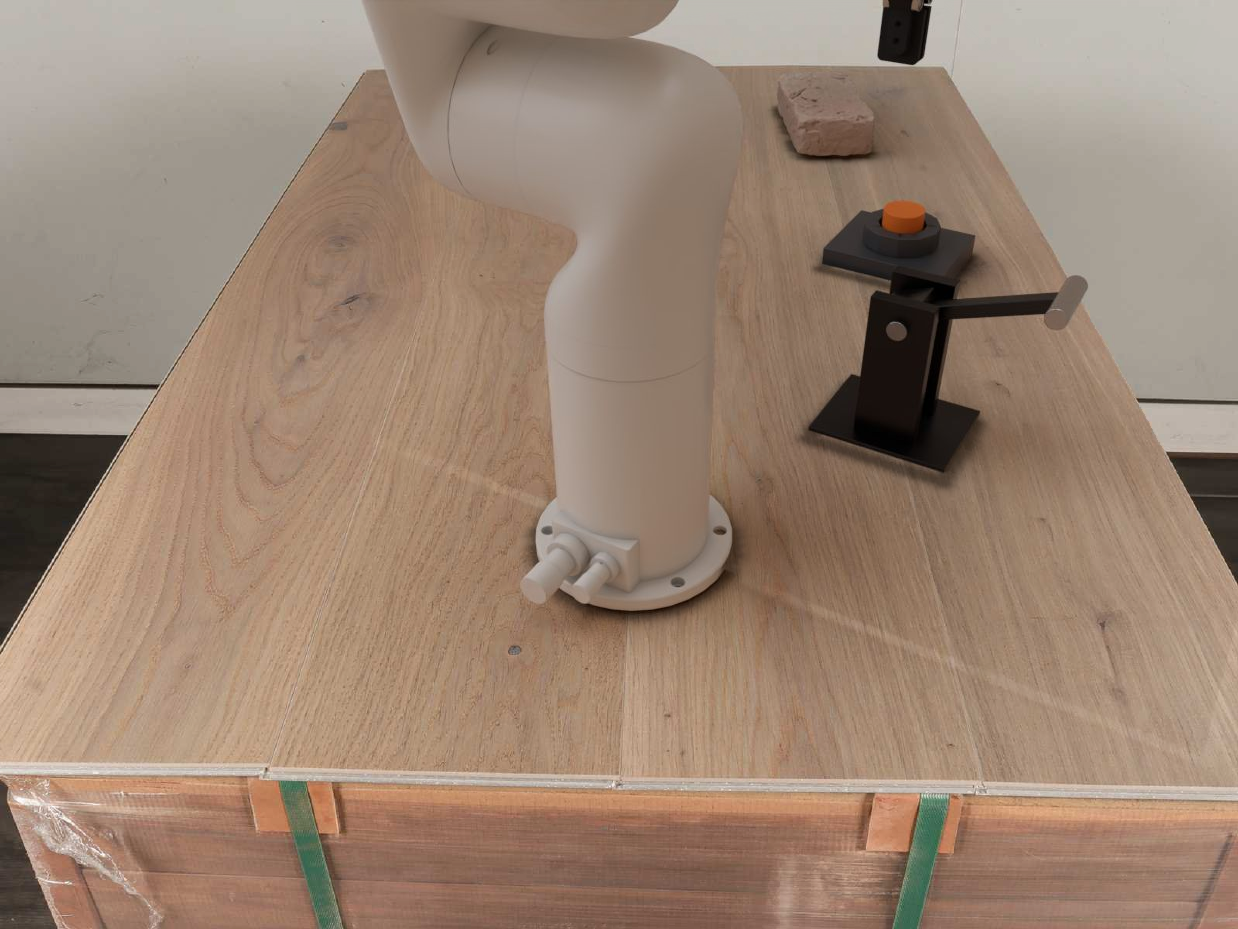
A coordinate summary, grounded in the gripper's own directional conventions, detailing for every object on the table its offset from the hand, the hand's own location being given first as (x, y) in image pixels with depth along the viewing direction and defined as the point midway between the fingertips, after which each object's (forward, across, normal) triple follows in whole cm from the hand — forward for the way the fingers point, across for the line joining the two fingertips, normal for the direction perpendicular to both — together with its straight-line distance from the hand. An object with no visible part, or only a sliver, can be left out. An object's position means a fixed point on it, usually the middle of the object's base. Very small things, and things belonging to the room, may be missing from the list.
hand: (900, 59), depth 86 cm
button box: (+20, +6, 0) cm, 21 cm away
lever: (+10, -19, -14) cm, 26 cm away
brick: (+20, +32, +18) cm, 42 cm away
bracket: (+20, -19, -9) cm, 29 cm away
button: (+16, +6, 0) cm, 17 cm away
